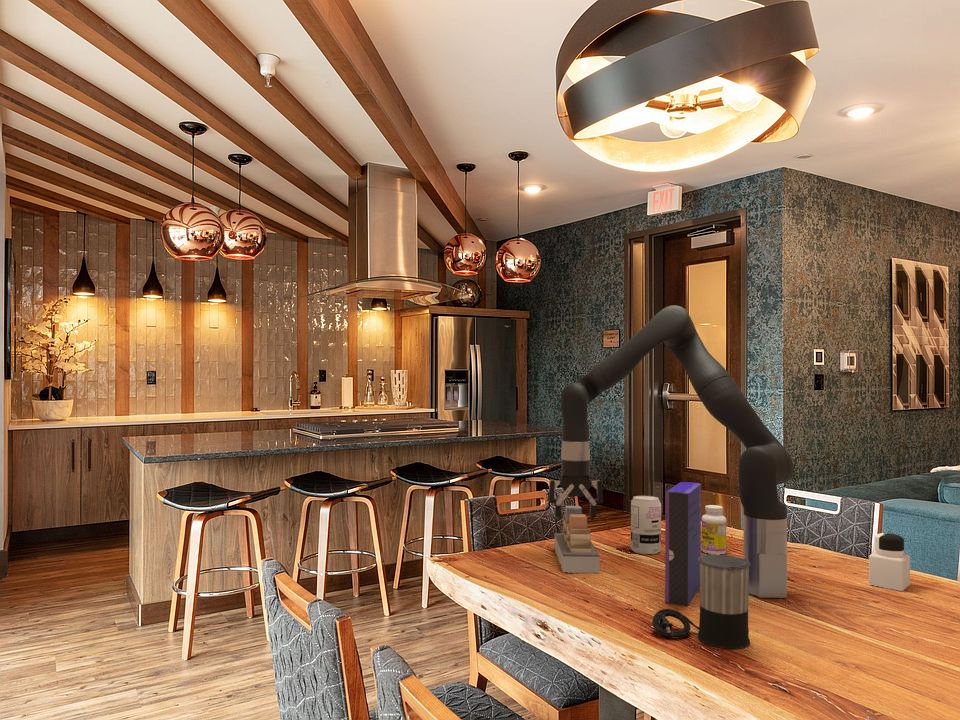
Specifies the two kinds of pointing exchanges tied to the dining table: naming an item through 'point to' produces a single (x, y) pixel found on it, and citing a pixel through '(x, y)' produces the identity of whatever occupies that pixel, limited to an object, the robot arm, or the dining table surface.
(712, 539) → the supplement bottle
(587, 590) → the dining table surface
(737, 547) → the dining table surface
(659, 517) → the supplement can
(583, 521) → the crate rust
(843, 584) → the dining table surface
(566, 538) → the pallet
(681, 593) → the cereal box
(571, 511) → the block
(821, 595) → the dining table surface
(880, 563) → the white plastic bottle
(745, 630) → the milk frother
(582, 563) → the dock
